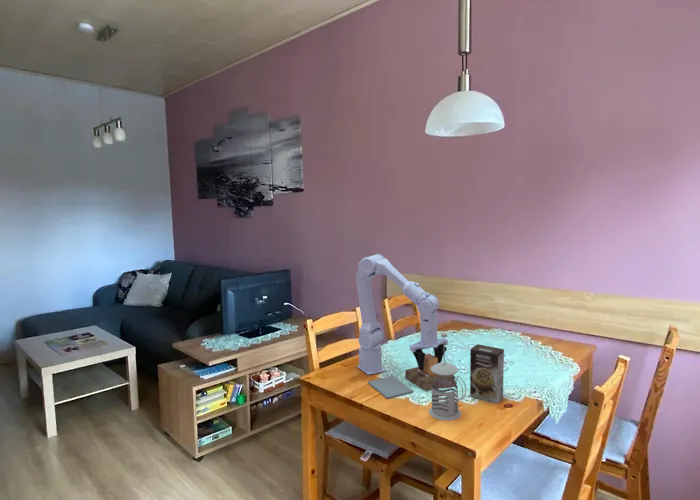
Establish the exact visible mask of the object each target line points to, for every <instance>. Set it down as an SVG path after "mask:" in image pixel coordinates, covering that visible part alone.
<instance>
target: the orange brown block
mask: <svg viewBox="0 0 700 500" xmlns="http://www.w3.org/2000/svg"><path fill="white" fill-rule="evenodd" d="M435 364H438V358H437V357H435V355H434V354H431V353H425V357H424V370H423V371H422V372H424V373H425V374H427V375H429V377H432V376H436V375H437V374H435V373H433V372H432V371H431V367H432V366H433V365H435Z"/></svg>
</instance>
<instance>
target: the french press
mask: <svg viewBox="0 0 700 500" xmlns="http://www.w3.org/2000/svg"><path fill="white" fill-rule="evenodd" d="M440 337H441V338H447V337H448V333H446V332H445V331H444V332H441V333H440ZM445 361H446V359H445V353H444V355H443V362H441V363H438V364H435V365H433V366H432V367H431V371H432V372H433V373H435V374H437V375H442V376H444V377H438V378H435V379H434V380H433V384H432V390H431V407H430V408H429V409H428V414H429V416H431V417H432V418H434V419H436V420H440V421H446V422H447V421H449V422H450V421H455V420H458V419H460V418H461V416H462V411H461V410H460V409H459V402H460V401H461V400H463V399H464V398H465V396H466V394H467V386H466V383H465V381H464V380H463V378H461V376H459V375H457V376H456V377H455V378H454V379H451V378H447V377H445V376H449V375H454V376H455V375H456V374H457V373H458V372H459V368H458V367H457V366H456V365H455V364H451V363H448V362H445ZM458 378H459V379H458ZM460 379H461V381H462V382H461V381H460ZM457 381H458V383H459V384H460V386H461V391H462V392H461V393H462V394H461V397H460V398H459V395H458V394H459V391H458V389H459V387H458V385H457V384H458V383H457ZM462 383H463V385H464V387H463V385H462ZM464 389H465V390H464ZM464 391H465V392H464Z"/></svg>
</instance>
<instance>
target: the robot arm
mask: <svg viewBox="0 0 700 500" xmlns="http://www.w3.org/2000/svg"><path fill="white" fill-rule="evenodd" d="M376 275H377V276H385V277H387V278H388V279H390V280H391V281H392V282H393V283H394V284H396V285H397V286H399V288H400V289H401V291H402V294H403V295H404V296H405V297H406V298H408V300H409V301H410V302H412V303H413V304H414V305H415V306H416V308H417V311H418V312H419V314H420V341H418V342H416V343H414V344H410V345H409V351H410V352H412V355H413V356H414V359H415V360H416V363H417V367H418V368H419V369H420V370H421V371H423V370H424V357H425V354H426V353H425V352H424V350H427V349H431V348H432V349H433V355H434V356H435V357H437V358H438V363H442V362H443V361H442V360H443V359H444V354H445V353H446V351H447V347H446V346H448V345H449V344H448V343H449V342H448V339H447V338H446V337H442V338H438V311H437V310H438V308H439V306H440V301H439V299H438V297H437V296H436V295H434V294H430V293H429V292H428V291H427V292H426V291H425V290H424V289H423V288H422V287H421V286H420V283H418V282H415V281H413V280H412V281H411V280H410V281H409V280H408V279H407V278H406V277H405V276H404V275H403V274H401V273H400V271H399V270H397V269H396V268H395V267H394V266H393V264H392V263H391V262H390V261H389V260H388V259H387V258H385V257H384V255H382V254H380V253H376V254H374V255H370V256H365V257H363V258H362V259H361V260H360V261H359V262H358V263H357V271H356V274H355V283H356V289H357V297H358V302H359V309H360V310H359V311H360V317H361V322H362V323H361V325H360V327H359V331H358V333H359V337H358V343H359V344H358V345H360V347H359V348H358V349H359V350H358V363H359V364H358V365H357V368H358V369H360V370H361V371H362V372H363V373H365V374H366V375H367V376H368V375H373V374H379V373H382V372H383V373H384V372H386V371H387V368H385V367H384V366H383V361H382V342H383V341H384V339H385V333H384V331H383V329H382V328H381V323H379V322H378V321H377V316H376V314H377V313H376V308H375V301H374V295H373V294H374V293H373V287H372V279H373V278H374V276H376Z"/></svg>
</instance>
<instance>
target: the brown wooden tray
mask: <svg viewBox="0 0 700 500" xmlns="http://www.w3.org/2000/svg"><path fill="white" fill-rule="evenodd" d="M404 370H405V374H404V375H405V376H404V377H405V379H406V380H408V381H409V382H411V383H412V384H414V385H415V384H416V386H417V387H418V386H419V387H418V388H419V389H421V388H422V389H421V390H423V391H424V390H425V391H424V392H426V391H427V392H429V390H430V391H432V384H433V380H434V379H435V378H438V377H444V376H442V375H436V376H432V377H429V375H427V374H425V373H424V372H422V371H421V370H420V369H419V368H418V366H416V367H413V368H409V369H404ZM445 377H447V378H451V379H454V378H456V375H455V374H454V375H449V376H445Z"/></svg>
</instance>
